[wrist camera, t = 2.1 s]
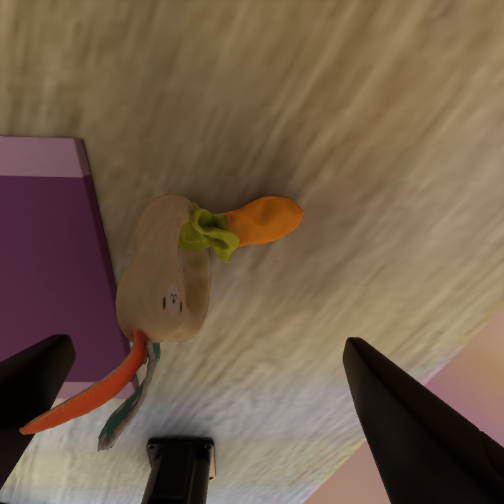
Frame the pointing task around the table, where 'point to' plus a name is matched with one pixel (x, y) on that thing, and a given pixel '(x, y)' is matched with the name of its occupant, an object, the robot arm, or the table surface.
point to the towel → (56, 260)
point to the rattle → (169, 292)
